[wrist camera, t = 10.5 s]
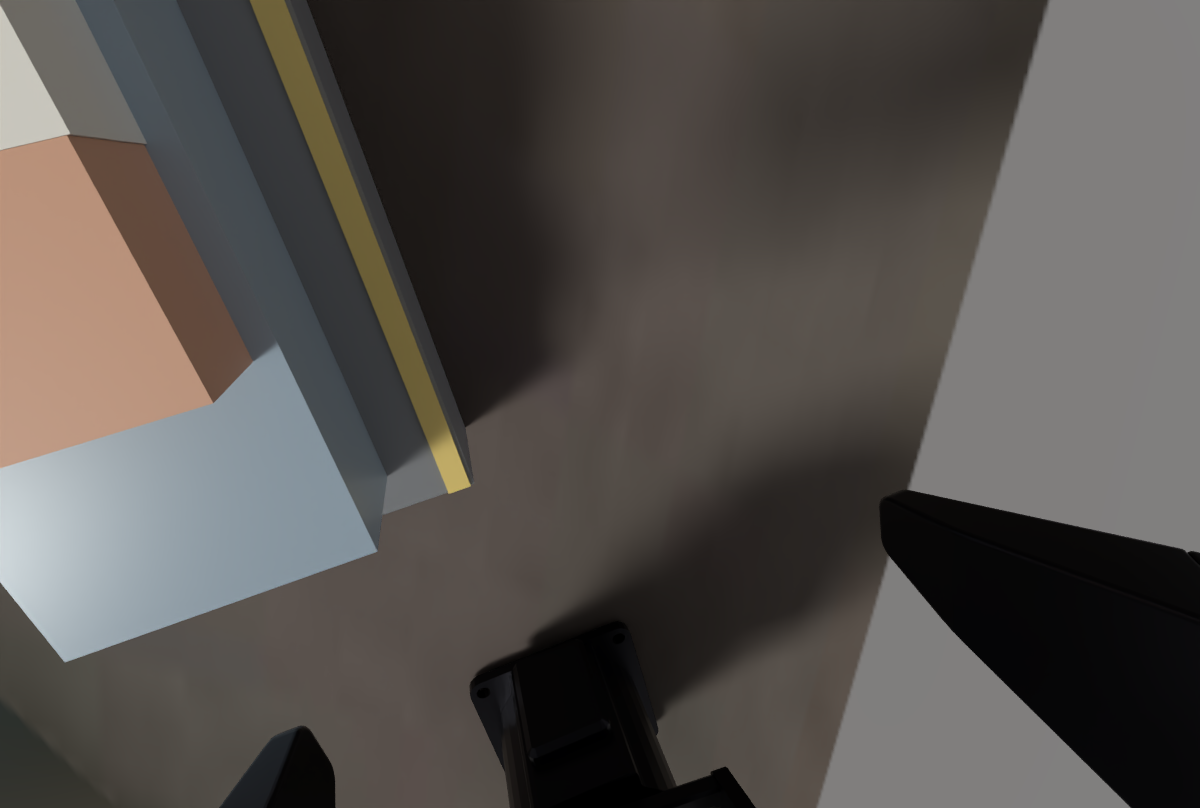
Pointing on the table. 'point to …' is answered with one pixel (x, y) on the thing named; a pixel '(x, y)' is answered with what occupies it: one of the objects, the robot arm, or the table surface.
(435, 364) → the dock
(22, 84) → the off-white block
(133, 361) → the salmon brown block
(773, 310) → the table surface
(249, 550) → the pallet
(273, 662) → the table surface
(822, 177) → the table surface
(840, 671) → the table surface
